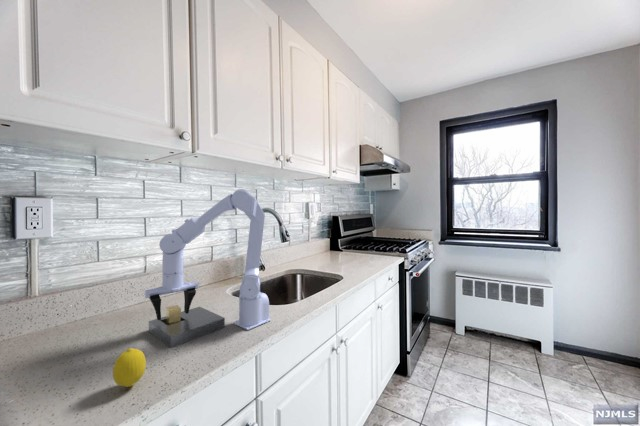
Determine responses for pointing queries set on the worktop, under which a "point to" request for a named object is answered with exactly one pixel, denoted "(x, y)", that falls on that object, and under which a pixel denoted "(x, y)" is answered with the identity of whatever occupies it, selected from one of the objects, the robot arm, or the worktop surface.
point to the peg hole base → (186, 326)
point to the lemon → (129, 367)
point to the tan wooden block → (173, 314)
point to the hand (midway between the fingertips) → (173, 315)
